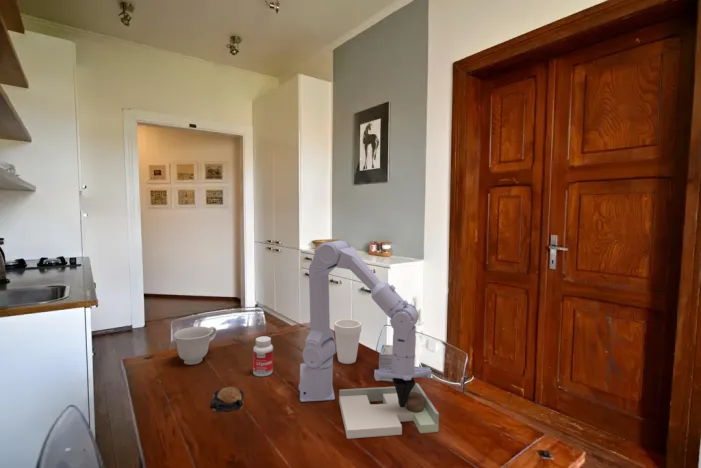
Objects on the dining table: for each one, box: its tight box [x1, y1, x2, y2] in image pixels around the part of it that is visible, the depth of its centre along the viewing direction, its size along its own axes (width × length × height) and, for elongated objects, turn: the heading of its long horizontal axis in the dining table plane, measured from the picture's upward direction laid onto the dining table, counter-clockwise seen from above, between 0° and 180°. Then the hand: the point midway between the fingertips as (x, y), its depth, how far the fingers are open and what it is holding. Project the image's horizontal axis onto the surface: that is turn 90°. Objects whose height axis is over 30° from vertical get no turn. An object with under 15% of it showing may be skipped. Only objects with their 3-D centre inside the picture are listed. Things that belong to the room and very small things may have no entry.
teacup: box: [173, 326, 217, 366], centre depth 121 cm, size 12×15×10 cm
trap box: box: [338, 382, 440, 439], centre depth 91 cm, size 22×16×4 cm
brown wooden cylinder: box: [406, 392, 424, 413], centre depth 91 cm, size 4×4×3 cm
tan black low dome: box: [210, 386, 244, 414], centre depth 96 cm, size 11×8×4 cm
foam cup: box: [333, 318, 362, 365], centre depth 124 cm, size 10×9×13 cm
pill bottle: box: [252, 335, 274, 377], centre depth 113 cm, size 6×6×11 cm
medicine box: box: [378, 344, 393, 383], centre depth 113 cm, size 8×4×9 cm, turn 168°
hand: (401, 405), depth 91 cm, fingers closed
